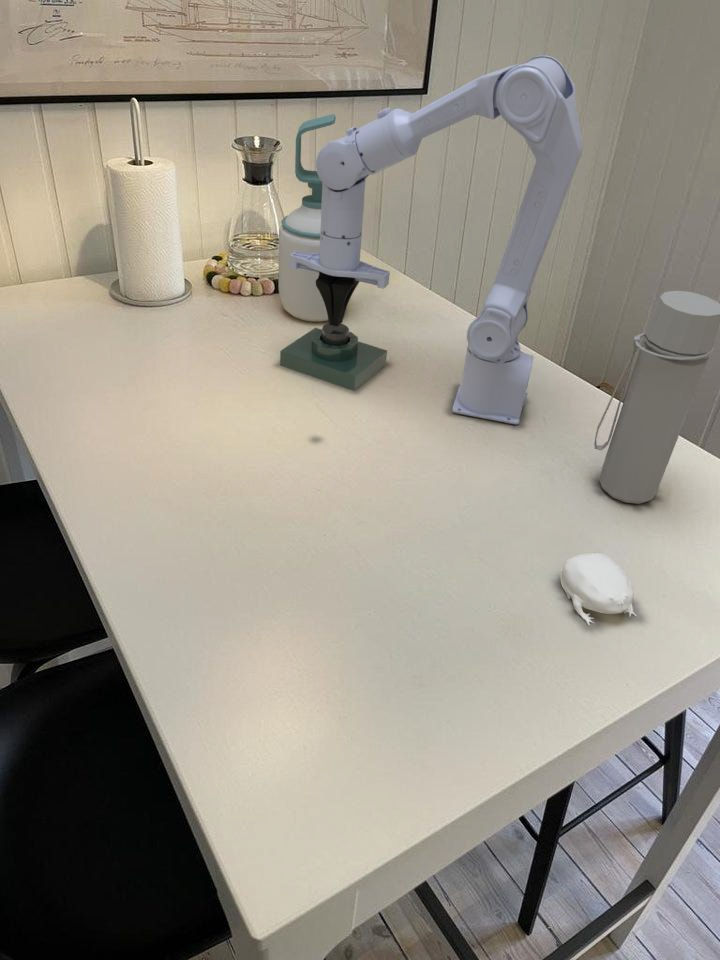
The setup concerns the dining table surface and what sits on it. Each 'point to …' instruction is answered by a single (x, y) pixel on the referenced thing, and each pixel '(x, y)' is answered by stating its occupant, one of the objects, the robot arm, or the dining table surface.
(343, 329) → the dark grey push button
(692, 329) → the water bottle
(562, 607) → the dining table surface
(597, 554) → the chubby white toad
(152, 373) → the dining table surface
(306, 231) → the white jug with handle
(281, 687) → the dining table surface
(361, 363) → the green push button box
